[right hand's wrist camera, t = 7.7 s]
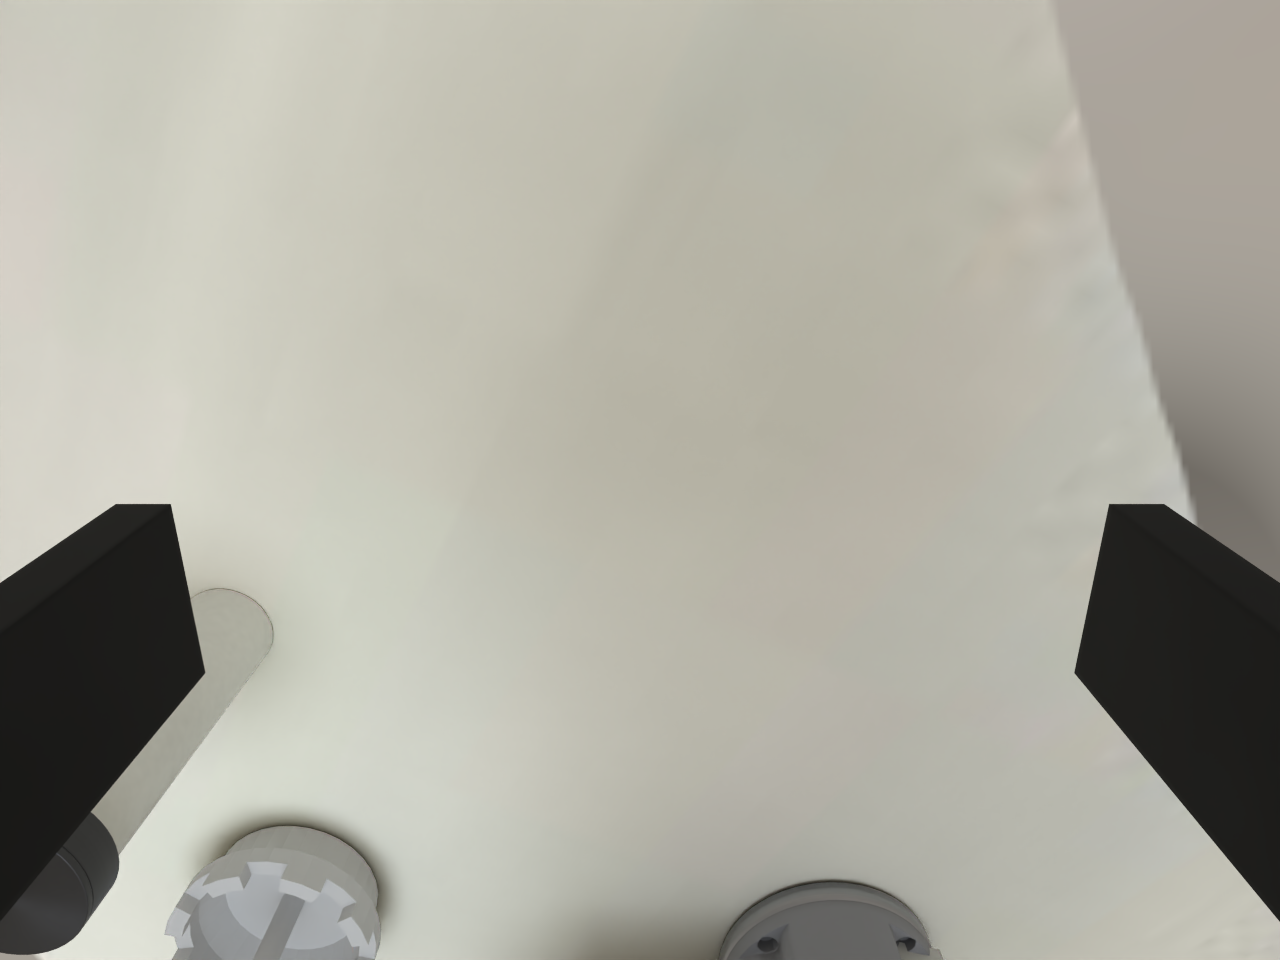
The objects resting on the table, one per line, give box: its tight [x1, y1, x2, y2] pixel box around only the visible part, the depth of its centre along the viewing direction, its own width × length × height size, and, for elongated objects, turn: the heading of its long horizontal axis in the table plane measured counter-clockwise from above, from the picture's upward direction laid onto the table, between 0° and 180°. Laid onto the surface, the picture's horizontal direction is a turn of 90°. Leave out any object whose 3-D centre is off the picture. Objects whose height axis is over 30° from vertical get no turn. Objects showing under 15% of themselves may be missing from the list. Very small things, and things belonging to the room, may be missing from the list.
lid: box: [0, 812, 119, 955], centre depth 36 cm, size 7×7×2 cm
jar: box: [91, 589, 273, 855], centre depth 44 cm, size 6×6×20 cm
